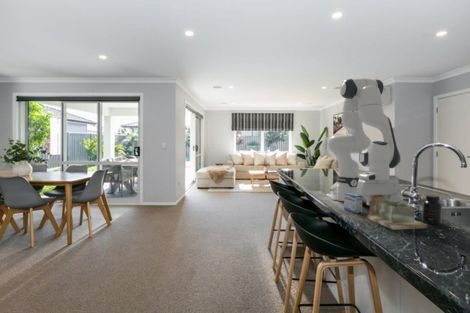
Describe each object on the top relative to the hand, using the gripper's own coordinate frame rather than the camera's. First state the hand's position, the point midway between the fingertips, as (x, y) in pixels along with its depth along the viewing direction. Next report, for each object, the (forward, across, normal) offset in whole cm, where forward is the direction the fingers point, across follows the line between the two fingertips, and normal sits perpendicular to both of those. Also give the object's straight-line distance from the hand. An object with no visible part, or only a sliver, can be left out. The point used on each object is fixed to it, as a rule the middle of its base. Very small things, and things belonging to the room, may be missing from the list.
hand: (377, 204), depth 129 cm
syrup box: (+6, -14, -9) cm, 17 cm away
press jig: (+6, -1, +10) cm, 12 cm away
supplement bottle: (+6, -18, +12) cm, 22 cm away
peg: (+6, 0, -1) cm, 6 cm away
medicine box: (+6, +6, -11) cm, 14 cm away
